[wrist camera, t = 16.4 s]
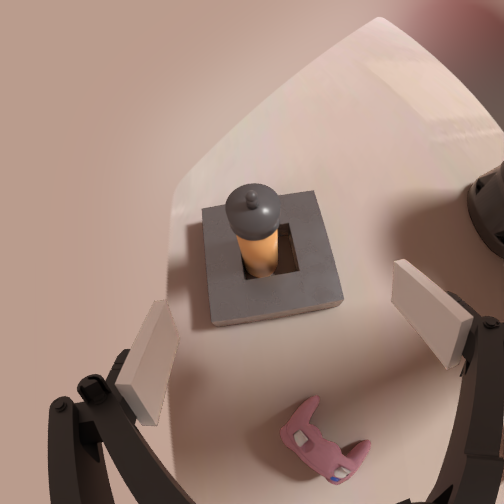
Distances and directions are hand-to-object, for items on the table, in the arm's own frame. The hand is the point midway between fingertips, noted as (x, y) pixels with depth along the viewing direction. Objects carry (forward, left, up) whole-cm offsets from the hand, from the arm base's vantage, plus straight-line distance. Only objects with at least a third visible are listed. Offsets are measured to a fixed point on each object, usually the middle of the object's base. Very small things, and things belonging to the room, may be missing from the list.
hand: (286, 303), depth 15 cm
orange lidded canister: (+1, -9, -16) cm, 19 cm away
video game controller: (-3, +12, -17) cm, 21 cm away
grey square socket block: (0, -9, -17) cm, 19 cm away
